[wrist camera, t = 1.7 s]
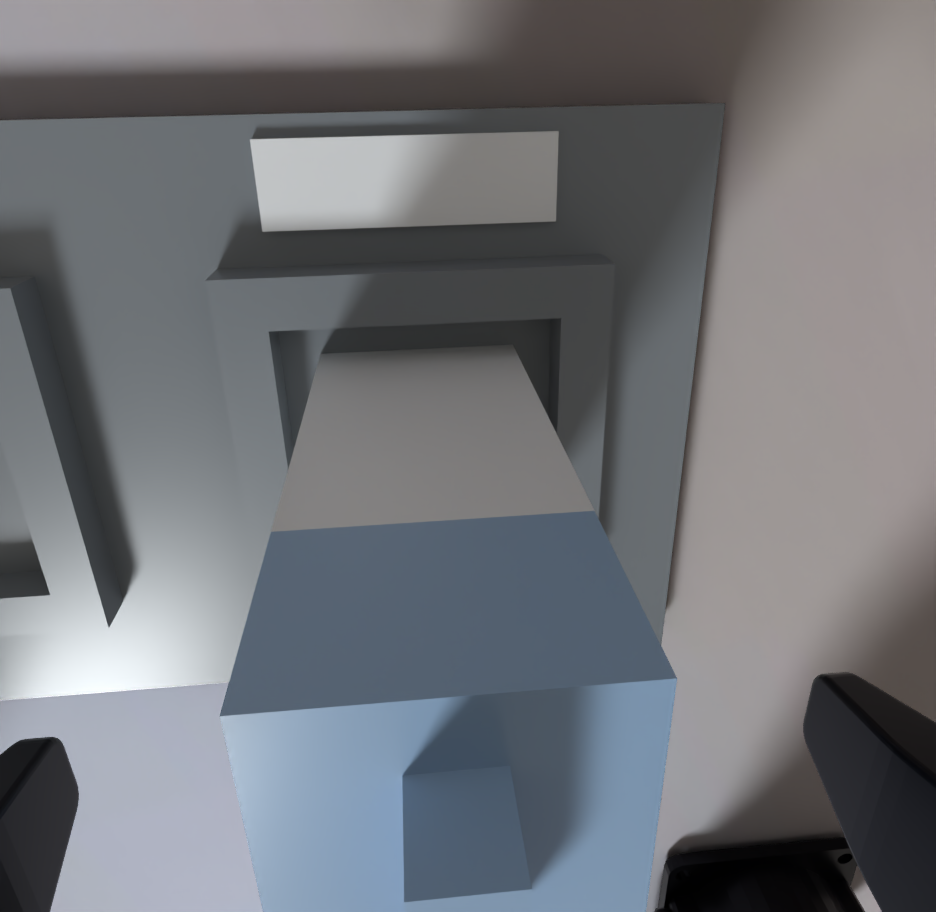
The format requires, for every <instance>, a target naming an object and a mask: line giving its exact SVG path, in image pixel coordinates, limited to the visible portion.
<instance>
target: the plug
mask: <svg viewBox="0 0 936 912" xmlns="http://www.w3.org/2000/svg"><path fill="white" fill-rule="evenodd" d="M676 682H677V677H676V675H675V673H674V671H673V669H672V667H671V665H670V663H669V661H668V659H667V657H666V655H665V653H664V651H663V649H662V647H661V645H660V643H659V641H658V639H657V637H656V635H655V633H654V631H653V629H652V627H651V625H650V622H649V620H648V618H647V616H646V614H645V612H644V610H643V608H642V606H641V604H640V602H639V600H638V598H637V596H636V594H635V592H634V590H633V588H632V586H631V584H630V582H629V580H628V578H627V576H626V574H625V572H624V570H623V568H622V566H621V564H620V562H619V560H618V557H617V555H616V553H615V551H614V549H613V547H612V545H611V543H610V541H609V539H608V537H607V535H606V533H605V531H604V529H603V527H602V525H601V523H600V521H599V519H598V517H597V515H596V513H595V511H594V509H593V507H592V505H591V503H590V501H589V499H588V497H587V494H586V492H585V490H584V488H583V486H582V484H581V482H580V480H579V478H578V476H577V474H576V472H575V470H574V468H573V466H572V464H571V462H570V460H569V458H568V456H567V454H566V452H565V450H564V448H563V446H562V444H561V442H560V440H559V438H558V436H557V434H556V432H555V429H554V427H553V425H552V423H551V421H550V419H549V417H548V415H547V413H546V411H545V409H544V407H543V405H542V403H541V401H540V399H539V397H538V395H537V393H536V391H535V389H534V387H533V385H532V383H531V381H530V379H529V377H528V375H527V373H526V371H525V369H524V367H523V364H522V362H521V360H520V358H519V356H518V354H517V352H516V350H515V348H514V346H513V345H496V346H475V347H454V348H433V349H412V350H391V351H370V352H349V353H328V354H320V357H319V361H318V365H317V368H316V372H315V375H314V379H313V383H312V386H311V390H310V393H309V397H308V401H307V404H306V408H305V411H304V415H303V419H302V422H301V426H300V429H299V433H298V437H297V440H296V444H295V447H294V451H293V454H292V458H291V462H290V465H289V469H288V472H287V476H286V480H285V483H284V487H283V490H282V494H281V498H280V501H279V505H278V508H277V512H276V516H275V519H274V523H273V526H272V530H271V534H270V537H269V541H268V544H267V548H266V552H265V555H264V559H263V562H262V566H261V569H260V573H259V577H258V580H257V584H256V587H255V591H254V595H253V598H252V602H251V605H250V609H249V613H248V616H247V620H246V623H245V627H244V631H243V634H242V638H241V641H240V645H239V649H238V652H237V656H236V659H235V663H234V667H233V670H232V674H231V677H230V681H229V684H228V688H227V692H226V695H225V699H224V702H223V706H222V710H221V713H220V720H221V725H222V729H223V734H224V738H225V743H226V747H227V752H228V756H229V761H230V765H231V770H232V774H233V779H234V783H235V788H236V792H237V797H238V801H239V806H240V810H241V814H242V819H243V823H244V828H245V832H246V837H247V841H248V846H249V850H250V855H251V859H252V864H253V868H254V873H255V877H256V882H257V886H258V891H259V895H260V900H261V904H262V909H263V912H646V907H647V900H648V892H649V885H650V877H651V870H652V862H653V855H654V847H655V840H656V832H657V825H658V817H659V810H660V802H661V795H662V787H663V780H664V772H665V765H666V757H667V750H668V742H669V735H670V727H671V720H672V712H673V705H674V697H675V690H676Z"/></svg>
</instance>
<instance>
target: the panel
mask: <svg viewBox="0 0 936 912" xmlns="http://www.w3.org/2000/svg"><path fill="white" fill-rule="evenodd" d="M724 110H725V103H690V104H648V105H606V106H563V107H521V108H479V109H437V110H394V111H352V112H310V113H268V114H226V115H183V116H141V117H99V118H57V119H14V120H0V701H2V700H15V699H27V698H40V697H52V696H65V695H78V694H90V693H103V692H115V691H128V690H140V689H153V688H166V687H178V686H191V685H203V684H216V683H228V682H229V681H230V677H231V674H232V670H233V667H234V663H235V659H236V656H237V652H238V649H239V645H240V641H241V638H242V634H243V631H244V627H245V623H246V620H247V616H248V613H249V609H250V605H251V602H252V598H253V595H254V591H255V587H256V584H257V580H258V577H259V573H260V569H261V566H262V562H263V559H264V555H265V552H266V548H267V544H268V541H269V537H270V534H271V530H272V526H273V523H274V519H275V516H276V512H277V508H278V505H279V501H280V498H281V494H282V490H283V487H284V483H285V480H286V476H287V472H288V469H289V465H290V462H291V458H292V454H293V451H294V447H295V444H296V440H297V437H298V433H299V429H300V426H301V422H302V419H303V415H304V411H305V408H306V404H307V401H308V397H309V393H310V390H311V386H312V383H313V379H314V375H315V372H316V368H317V365H318V361H319V357H320V354H328V353H349V352H370V351H391V350H412V349H433V348H454V347H475V346H496V345H513V346H514V348H515V350H516V352H517V354H518V356H519V358H520V360H521V362H522V364H523V367H524V369H525V371H526V373H527V375H528V377H529V379H530V381H531V383H532V385H533V387H534V389H535V391H536V393H537V395H538V397H539V399H540V401H541V403H542V405H543V407H544V409H545V411H546V413H547V415H548V417H549V419H550V421H551V423H552V425H553V427H554V429H555V432H556V434H557V436H558V438H559V440H560V442H561V444H562V446H563V448H564V450H565V452H566V454H567V456H568V458H569V460H570V462H571V464H572V466H573V468H574V470H575V472H576V474H577V476H578V478H579V480H580V482H581V484H582V486H583V488H584V490H585V492H586V494H587V497H588V499H589V501H590V503H591V505H592V507H593V509H594V511H595V513H596V515H597V517H598V519H599V521H600V523H601V525H602V527H603V529H604V531H605V533H606V535H607V537H608V539H609V541H610V543H611V545H612V547H613V549H614V551H615V553H616V555H617V557H618V560H619V562H620V564H621V566H622V568H623V570H624V572H625V574H626V576H627V578H628V580H629V582H630V584H631V586H632V588H633V590H634V592H635V594H636V596H637V598H638V600H639V602H640V604H641V606H642V608H643V610H644V612H645V614H646V616H647V618H648V620H649V622H650V625H651V627H652V629H653V631H654V633H655V635H656V637H657V639H658V641H659V643H660V645H661V642H662V634H663V626H664V617H665V609H666V600H667V592H668V583H669V575H670V566H671V558H672V550H673V541H674V533H675V524H676V516H677V507H678V499H679V490H680V482H681V474H682V465H683V457H684V448H685V440H686V431H687V423H688V414H689V406H690V398H691V389H692V381H693V372H694V364H695V355H696V347H697V338H698V330H699V322H700V313H701V305H702V296H703V288H704V279H705V271H706V262H707V254H708V246H709V237H710V229H711V220H712V212H713V203H714V195H715V186H716V178H717V170H718V161H719V153H720V144H721V136H722V127H723V119H724Z"/></svg>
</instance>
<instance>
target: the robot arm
mask: <svg viewBox="0 0 936 912" xmlns="http://www.w3.org/2000/svg"><path fill="white" fill-rule="evenodd" d="M803 732H804V737H805V741H806V744H807V747H808V749H809V752H810V754H811V756H812V759H813V761H814V764H815V766H816V768H817V771H818V773H819V776H820V778H821V780H822V783H823V785H824V788H825V790H826V792H827V795H828V797H829V800H830V802H831V804H832V807H833V809H834V812H835V814H836V816H837V819H838V821H839V824H840V826H841V828H842V831H843V833H844V835H845V838H833V839H823V840H813V841H803V842H794V843H784V844H774V845H764V846H754V847H744V848H734V849H724V850H714V851H704V852H695V853H685V854H678V855H674V856H672V857H671V858H669V859H668V860H667V861H666V863H665V865H664V871H663V878H662V885H661V892H660V899H659V906H658V908H656V910H655V912H865V911H864V909H863V907H862V905H861V904H860V902H859V900H858V899H857V897H856V895H855V893H854V892H853V890H852V888H851V887H850V886H851V883H852V879H853V876H854V873H855V870H856V867H857V865H858V867H859V869H860V871H861V873H862V875H863V877H864V879H865V881H866V883H867V885H868V887H869V888H870V890H871V892H872V894H873V896H874V898H875V900H876V902H877V903H878V905H879V907H880V909H881V911H882V912H936V722H934V721H932V720H931V719H929V718H927V717H926V716H924V715H922V714H921V713H919V712H917V711H916V710H914V709H912V708H911V707H909V706H907V705H906V704H904V703H902V702H901V701H899V700H897V699H896V698H894V697H892V696H891V695H889V694H887V693H886V692H884V691H882V690H880V689H879V688H877V687H875V686H874V685H872V684H870V683H869V682H867V681H865V680H864V679H862V678H860V677H859V676H857V675H855V674H853V673H849V672H840V673H828V674H821V675H818V676H817V677H816V678H815V679H814V681H813V684H812V688H811V692H810V697H809V701H808V705H807V709H806V714H805V718H804V723H803ZM78 800H79V792H78V786H77V782H76V779H75V777H74V774H73V771H72V768H71V765H70V762H69V759H68V756H67V754H66V751H65V748H64V746H63V744H62V742H61V741H60V740H59V739H58V738H55V737H45V738H33V739H24V740H20V741H18V742H16V743H15V744H13V745H12V746H11V747H9V748H8V749H7V750H6V751H4V752H3V753H2V754H1V755H0V912H50V910H51V906H52V902H53V898H54V895H55V891H56V887H57V883H58V879H59V876H60V872H61V868H62V864H63V861H64V857H65V853H66V849H67V845H68V842H69V838H70V834H71V830H72V827H73V823H74V819H75V815H76V812H77V807H78Z"/></svg>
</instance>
